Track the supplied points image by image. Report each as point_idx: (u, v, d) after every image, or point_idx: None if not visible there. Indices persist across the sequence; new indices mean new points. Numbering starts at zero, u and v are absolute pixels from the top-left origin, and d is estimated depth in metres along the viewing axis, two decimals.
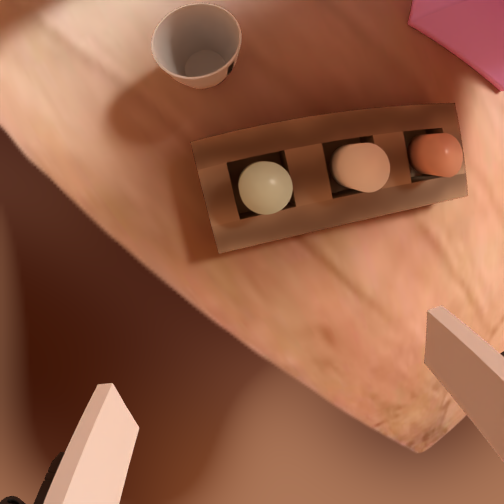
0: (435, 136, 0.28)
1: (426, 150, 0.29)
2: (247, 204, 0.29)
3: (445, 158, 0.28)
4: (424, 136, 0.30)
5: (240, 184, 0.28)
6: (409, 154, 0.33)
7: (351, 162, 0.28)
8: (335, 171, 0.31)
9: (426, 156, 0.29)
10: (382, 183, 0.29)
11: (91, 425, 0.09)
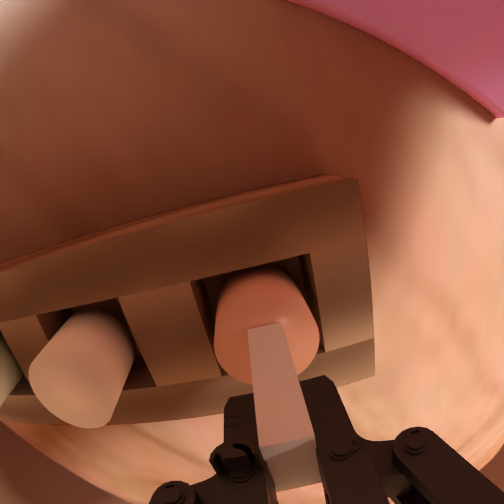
0: (232, 308, 0.14)
1: None
2: None
3: None
4: (233, 285, 0.16)
5: None
6: None
7: (38, 384, 0.12)
8: None
9: None
10: (104, 419, 0.13)
11: (268, 360, 0.11)
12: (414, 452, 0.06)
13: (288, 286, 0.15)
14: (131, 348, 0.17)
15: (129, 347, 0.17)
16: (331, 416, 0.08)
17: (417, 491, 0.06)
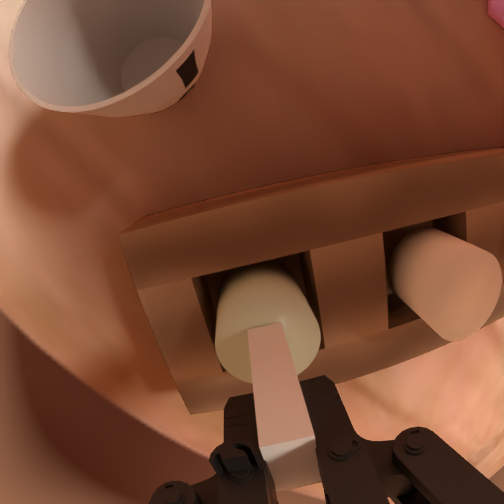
0: None
1: None
2: (232, 371, 0.14)
3: None
4: None
5: (217, 339, 0.14)
6: None
7: (446, 293, 0.13)
8: (402, 288, 0.16)
9: None
10: (483, 320, 0.13)
11: (268, 359, 0.11)
12: (414, 452, 0.06)
13: None
14: None
15: None
16: (331, 416, 0.08)
17: (417, 491, 0.06)
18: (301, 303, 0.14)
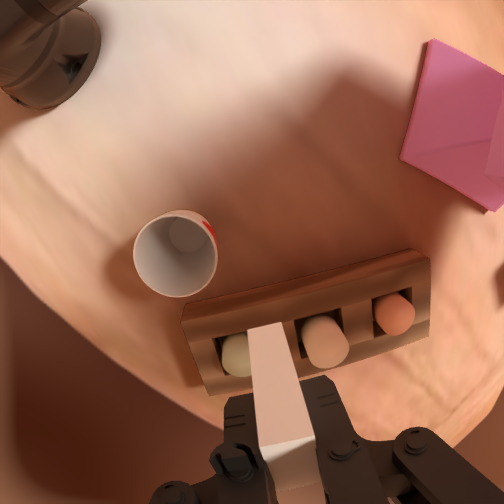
0: (390, 306, 0.36)
1: (380, 316, 0.37)
2: (228, 371, 0.37)
3: (396, 322, 0.37)
4: (383, 297, 0.38)
5: (222, 359, 0.36)
6: None
7: (314, 350, 0.34)
8: (303, 343, 0.38)
9: (379, 320, 0.37)
10: (340, 360, 0.35)
11: (268, 360, 0.11)
12: (414, 452, 0.06)
13: (403, 297, 0.38)
14: None
15: None
16: (331, 416, 0.08)
17: (417, 491, 0.06)
18: None
